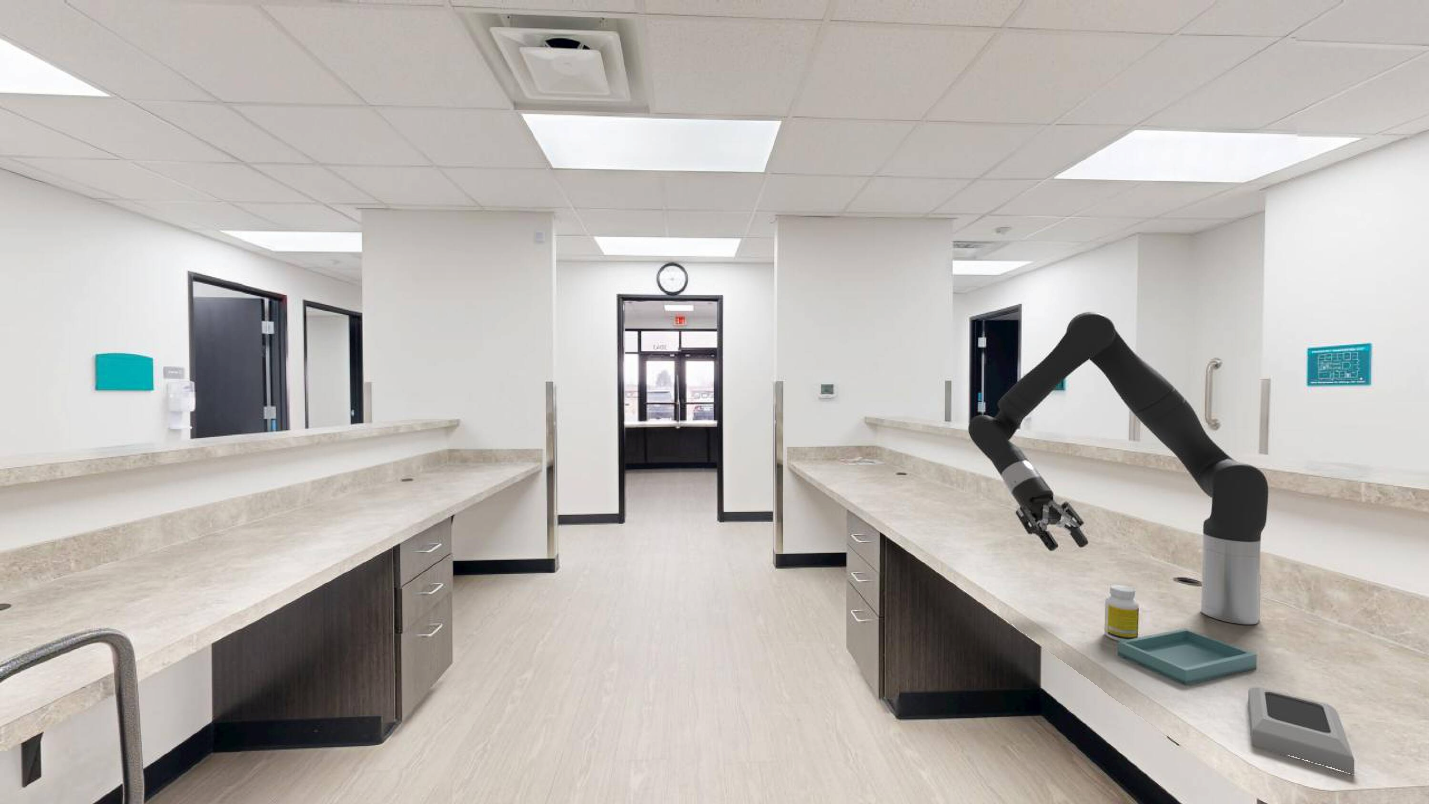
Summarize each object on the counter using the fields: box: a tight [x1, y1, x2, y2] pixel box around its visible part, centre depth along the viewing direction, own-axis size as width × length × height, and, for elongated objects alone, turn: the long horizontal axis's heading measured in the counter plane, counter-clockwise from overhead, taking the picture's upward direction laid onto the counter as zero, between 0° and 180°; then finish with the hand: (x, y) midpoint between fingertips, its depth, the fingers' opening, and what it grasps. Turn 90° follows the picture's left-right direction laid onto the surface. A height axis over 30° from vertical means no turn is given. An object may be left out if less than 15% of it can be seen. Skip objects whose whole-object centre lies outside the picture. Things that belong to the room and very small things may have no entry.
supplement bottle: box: [1104, 584, 1140, 642], centre depth 115 cm, size 5×5×10 cm
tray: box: [1117, 627, 1258, 686], centre depth 105 cm, size 18×12×2 cm, turn 109°
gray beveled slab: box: [1247, 686, 1355, 775], centre depth 83 cm, size 10×4×15 cm
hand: (1069, 547), depth 126 cm, fingers open, 8 cm apart
